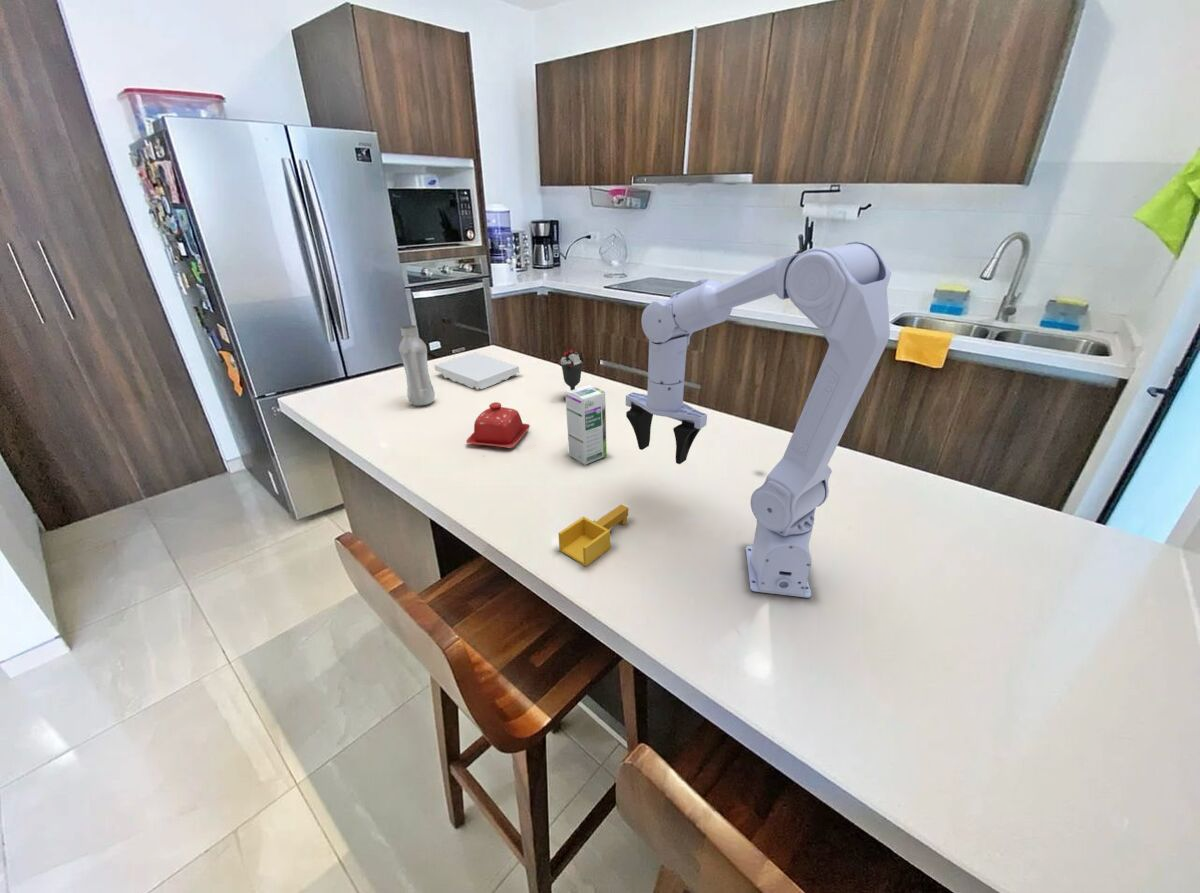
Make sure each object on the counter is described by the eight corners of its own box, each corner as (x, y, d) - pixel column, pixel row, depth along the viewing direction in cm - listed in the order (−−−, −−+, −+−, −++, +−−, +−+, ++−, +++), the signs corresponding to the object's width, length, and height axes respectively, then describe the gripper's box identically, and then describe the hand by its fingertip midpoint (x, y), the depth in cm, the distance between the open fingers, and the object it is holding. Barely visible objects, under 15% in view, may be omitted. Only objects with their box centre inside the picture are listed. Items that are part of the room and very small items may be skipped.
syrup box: (585, 466, 100) (583, 398, 93) (567, 455, 104) (564, 390, 97) (607, 457, 103) (606, 391, 96) (589, 446, 107) (587, 383, 100)
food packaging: (519, 377, 147) (476, 362, 158) (518, 366, 146) (475, 352, 157) (479, 392, 137) (436, 375, 148) (478, 381, 136) (434, 365, 146)
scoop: (585, 566, 73) (585, 548, 72) (559, 550, 77) (558, 532, 75) (637, 527, 82) (638, 510, 80) (611, 514, 85) (611, 497, 83)
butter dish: (463, 447, 107) (458, 411, 103) (486, 425, 117) (482, 391, 113) (513, 452, 105) (509, 416, 101) (532, 429, 115) (529, 395, 111)
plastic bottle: (408, 401, 131) (392, 325, 121) (434, 397, 133) (421, 322, 124) (410, 410, 126) (394, 331, 116) (438, 405, 128) (424, 328, 119)
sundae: (556, 402, 129) (553, 345, 122) (565, 393, 135) (563, 338, 128) (580, 405, 127) (578, 347, 120) (588, 395, 133) (587, 340, 126)
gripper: (720, 381, 76) (711, 458, 83) (644, 362, 85) (641, 434, 91) (695, 394, 72) (688, 475, 78) (617, 373, 80) (617, 447, 86)
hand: (662, 454), depth 84 cm, fingers open, 7 cm apart
